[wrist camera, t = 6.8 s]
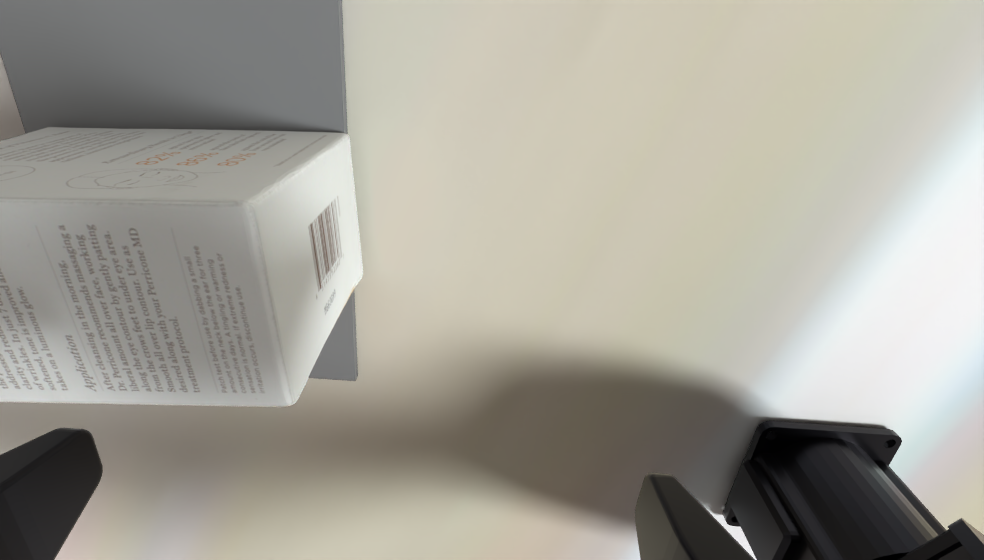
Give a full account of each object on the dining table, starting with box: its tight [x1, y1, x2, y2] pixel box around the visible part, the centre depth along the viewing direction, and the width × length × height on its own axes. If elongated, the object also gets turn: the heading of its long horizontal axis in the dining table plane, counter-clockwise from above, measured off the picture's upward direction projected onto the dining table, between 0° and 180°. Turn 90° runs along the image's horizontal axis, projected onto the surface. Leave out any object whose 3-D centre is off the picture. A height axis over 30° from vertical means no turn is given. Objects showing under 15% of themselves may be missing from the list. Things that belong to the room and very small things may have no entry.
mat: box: [0, 0, 358, 381], centre depth 18 cm, size 11×18×1 cm, turn 175°
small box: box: [0, 127, 363, 407], centre depth 15 cm, size 8×6×10 cm
